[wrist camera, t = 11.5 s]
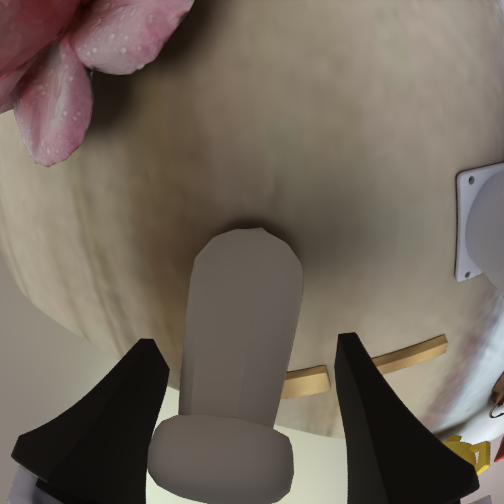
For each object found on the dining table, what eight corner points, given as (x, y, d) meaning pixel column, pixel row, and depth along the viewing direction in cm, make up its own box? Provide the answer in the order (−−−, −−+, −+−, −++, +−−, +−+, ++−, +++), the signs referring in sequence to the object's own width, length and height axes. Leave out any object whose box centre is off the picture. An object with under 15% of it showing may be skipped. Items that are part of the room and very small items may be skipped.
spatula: (445, 328, 18) (450, 336, 18) (440, 350, 20) (444, 358, 19) (245, 378, 23) (244, 387, 22) (257, 395, 24) (256, 404, 23)
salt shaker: (187, 270, 17) (106, 477, 6) (228, 193, 14) (118, 458, 3) (268, 309, 18) (255, 514, 7) (320, 244, 15) (366, 495, 4)
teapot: (364, 475, 34) (387, 424, 40) (418, 487, 33) (436, 443, 39) (449, 489, 17) (473, 417, 23) (492, 491, 16) (509, 435, 22)
